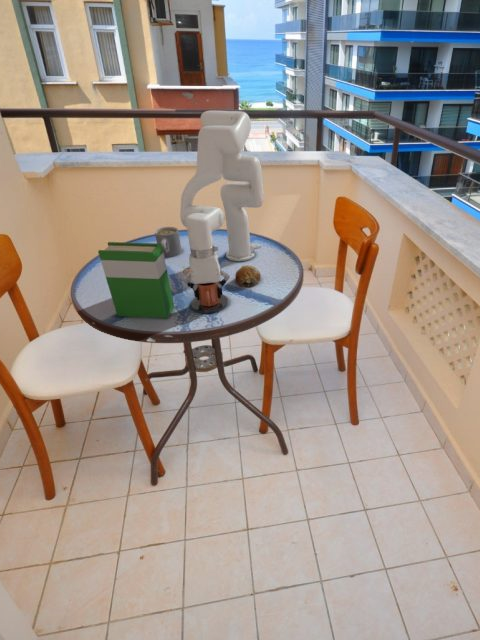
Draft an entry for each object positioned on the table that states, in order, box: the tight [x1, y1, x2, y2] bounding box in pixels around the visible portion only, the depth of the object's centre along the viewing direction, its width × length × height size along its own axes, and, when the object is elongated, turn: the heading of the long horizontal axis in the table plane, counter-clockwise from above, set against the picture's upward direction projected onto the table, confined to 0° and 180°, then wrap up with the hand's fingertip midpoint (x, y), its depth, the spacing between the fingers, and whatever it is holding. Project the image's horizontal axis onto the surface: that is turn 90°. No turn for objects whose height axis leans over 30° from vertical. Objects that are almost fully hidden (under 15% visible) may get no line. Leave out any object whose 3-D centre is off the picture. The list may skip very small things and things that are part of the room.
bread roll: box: [235, 265, 261, 287], centre depth 163 cm, size 10×10×8 cm
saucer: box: [190, 294, 229, 314], centre depth 149 cm, size 13×13×1 cm
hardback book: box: [97, 241, 175, 319], centre depth 138 cm, size 18×7×24 cm, turn 86°
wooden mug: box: [197, 283, 219, 306], centre depth 146 cm, size 10×7×8 cm
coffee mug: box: [154, 226, 183, 258], centre depth 182 cm, size 13×10×10 cm
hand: (209, 297), depth 148 cm, fingers closed on wooden mug, 6 cm apart
